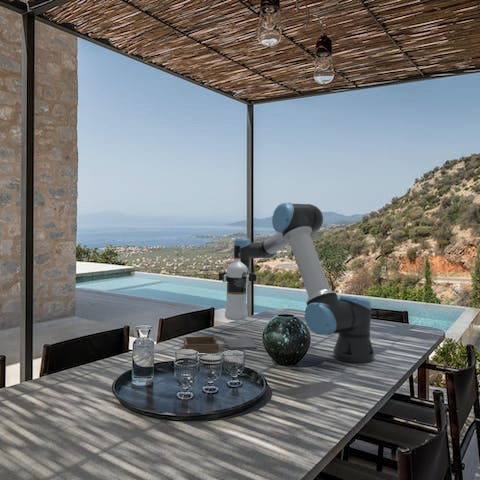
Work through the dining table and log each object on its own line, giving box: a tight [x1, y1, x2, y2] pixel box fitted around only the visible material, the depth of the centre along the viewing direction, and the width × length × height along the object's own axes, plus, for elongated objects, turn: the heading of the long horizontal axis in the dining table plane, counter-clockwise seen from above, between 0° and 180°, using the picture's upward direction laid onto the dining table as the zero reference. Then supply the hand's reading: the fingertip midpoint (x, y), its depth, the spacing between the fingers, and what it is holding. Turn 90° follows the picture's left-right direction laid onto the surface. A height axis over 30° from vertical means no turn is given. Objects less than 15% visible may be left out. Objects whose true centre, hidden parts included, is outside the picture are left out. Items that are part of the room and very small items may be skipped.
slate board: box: [224, 337, 258, 351], centre depth 191 cm, size 14×11×1 cm
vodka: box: [224, 245, 248, 321], centre depth 189 cm, size 9×9×30 cm
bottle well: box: [182, 335, 220, 353], centre depth 181 cm, size 13×13×4 cm
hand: (235, 279), depth 184 cm, fingers closed on vodka, 8 cm apart
